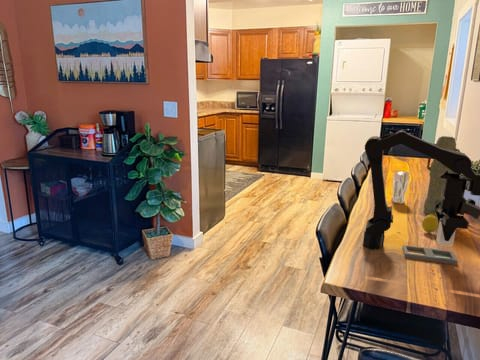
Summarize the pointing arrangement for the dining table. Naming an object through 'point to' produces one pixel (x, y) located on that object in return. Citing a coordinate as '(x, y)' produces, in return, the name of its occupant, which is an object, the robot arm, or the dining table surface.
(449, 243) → the plug
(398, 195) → the grey marbled block
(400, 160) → the dining table surface
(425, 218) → the lemon
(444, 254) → the socket panel
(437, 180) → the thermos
